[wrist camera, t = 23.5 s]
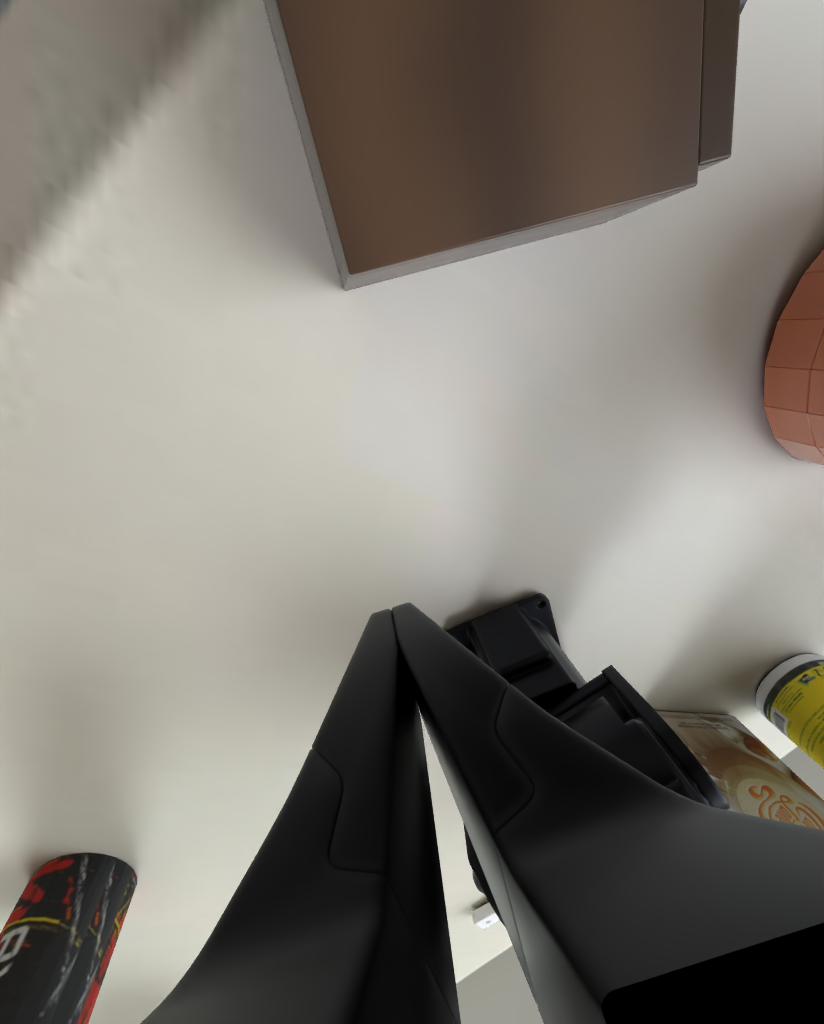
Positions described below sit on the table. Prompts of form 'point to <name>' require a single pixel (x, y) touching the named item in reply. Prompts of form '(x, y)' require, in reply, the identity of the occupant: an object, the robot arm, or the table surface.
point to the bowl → (799, 370)
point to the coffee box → (747, 769)
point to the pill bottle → (797, 702)
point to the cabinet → (486, 119)
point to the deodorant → (63, 939)
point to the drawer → (718, 79)
